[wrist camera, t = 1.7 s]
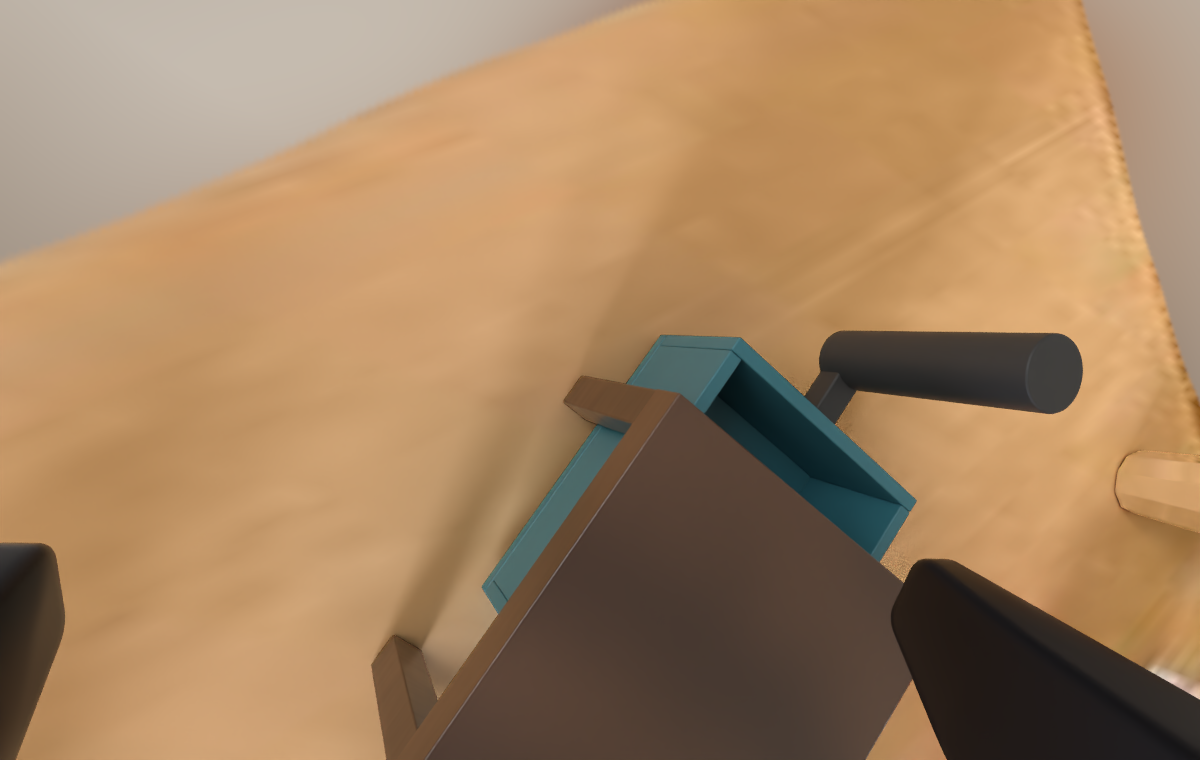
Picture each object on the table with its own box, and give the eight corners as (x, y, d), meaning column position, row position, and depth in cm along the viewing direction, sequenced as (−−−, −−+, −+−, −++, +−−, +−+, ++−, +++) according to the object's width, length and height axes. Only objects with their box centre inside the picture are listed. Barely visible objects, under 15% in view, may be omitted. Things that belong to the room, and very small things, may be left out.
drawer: (666, 705, 28) (886, 945, 17) (480, 586, 25) (606, 787, 14) (860, 402, 30) (1161, 445, 19) (712, 260, 27) (972, 219, 16)
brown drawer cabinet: (633, 810, 28) (741, 975, 21) (369, 664, 24) (391, 806, 17) (798, 550, 30) (947, 619, 23) (580, 373, 26) (680, 392, 19)
